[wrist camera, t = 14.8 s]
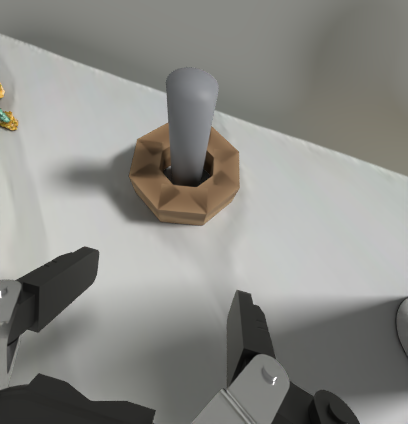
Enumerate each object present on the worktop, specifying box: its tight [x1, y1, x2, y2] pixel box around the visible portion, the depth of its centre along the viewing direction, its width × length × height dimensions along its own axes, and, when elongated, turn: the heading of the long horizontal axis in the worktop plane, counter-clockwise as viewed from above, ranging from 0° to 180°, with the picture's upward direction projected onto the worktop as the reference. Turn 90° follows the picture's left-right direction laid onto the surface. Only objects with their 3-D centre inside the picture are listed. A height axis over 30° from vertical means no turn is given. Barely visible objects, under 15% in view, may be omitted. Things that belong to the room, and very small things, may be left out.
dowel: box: [166, 67, 219, 187], centre depth 22 cm, size 4×4×14 cm
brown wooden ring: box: [129, 123, 240, 225], centre depth 26 cm, size 13×13×4 cm
